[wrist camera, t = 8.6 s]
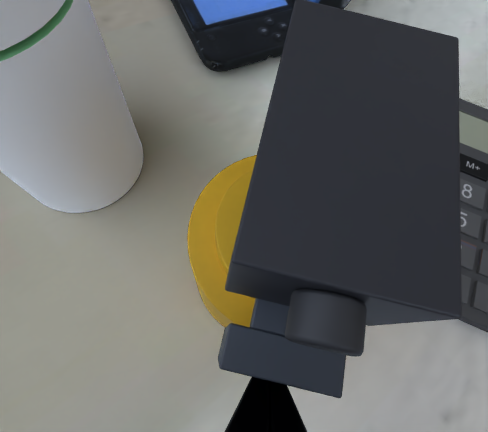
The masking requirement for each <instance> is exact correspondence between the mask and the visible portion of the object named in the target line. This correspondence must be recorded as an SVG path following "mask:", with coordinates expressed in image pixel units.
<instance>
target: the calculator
mask: <svg viewBox="0 0 488 432" xmlns="http://www.w3.org/2000/svg"><path fill="white" fill-rule="evenodd" d="M459 127H460V206H461V284H462V316H461V318H459V320H461V321H464V322H466V323H468V324H471V325H473V326H475V327H477V328H480V329H482V330H484V331H486V332H488V109H485V108H482V107H480V106H477V105H475V104H472V103H470V102H467V101H465V100H462V99H460V98H459Z"/></svg>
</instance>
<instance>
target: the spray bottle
mask: <svg viewBox="0 0 488 432" xmlns="http://www.w3.org/2000/svg"><path fill="white" fill-rule="evenodd" d="M187 239H188V253H189V259H190V264H191V267H192V270H193V273H194V276H195V279H196V283H197V286H198V289H199V292H200V295H201V298H202V300H203V302H204V304H205V306H206V308H207V309H208V311H209V312H210V314H211V315H212V316H213V317H214V318H215V319H216V320H217V321H218V322H219V323H220V324H221V325H222V326H224V327H225V328H226V327H227V326H228V325H229V324H230V323H234V324H238V325H242V326H246V327H250V322H251V317H252V312H253V308H254V303H255V298H258V299H262V300H266V301H270V302H274V303H278V304H282V305H286V306H289V311H288V317H287V323H286V329H285V338H286V339H287V340H289V341H290V342H293V343H297V344H300V345H304V346H308V347H312V348H316V349H320V350H324V351H329V352H333V353H338V354H343V355H348V356H355V357H356V356H361V355H362V353H363V349H364V338H365V327H366V325H367V326H373V325H385V324H398V323H410V322H423V321H436V320H448V319H459V318H461V316H462V284H461V206H460V127H459V48H458V38H457V37H453V36H449V35H445V34H441V33H436V32H432V31H428V30H424V29H420V28H416V27H412V26H408V25H404V24H400V23H396V22H392V21H388V20H384V19H379V18H375V17H371V16H367V15H363V14H359V13H355V12H351V11H347V10H343V9H339V8H335V7H331V6H327V5H322V4H318V3H314V2H310V1H306V0H296V1H295V3H294V8H293V12H292V16H291V20H290V24H289V28H288V32H287V36H286V40H285V44H284V48H283V52H282V56H281V60H280V64H279V68H278V72H277V76H276V80H275V84H274V88H273V92H272V96H271V100H270V104H269V108H268V112H267V116H266V120H265V124H264V128H263V132H262V136H261V140H260V144H259V148H258V152H257V155H254V156H251V157H247V158H244V159H242V160H240V161H237V162H235V163H233V164H232V165H230V166H228V167H227V168H225V169H224V170H222V171H221V172H220V173H218V174H217V175H216V176H215V177H214V178H213V179H212V180H211V181H210V182H209V183H208V184H207V186H206V187H205V188H204V190H203V191H202V192H201V194H200V196H199V198H198V199H197V201H196V203H195V206H194V208H193V211H192V213H191V217H190V222H189V226H188V237H187Z"/></svg>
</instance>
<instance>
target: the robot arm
mask: <svg viewBox="0 0 488 432" xmlns="http://www.w3.org/2000/svg"><path fill="white" fill-rule="evenodd" d="M225 432H307V430H306V428H305V426H304V423H303V421H302V419H301V416H300V414H299V412H298V410H297V407H296V405H295V403H294V401H293V398H292V396H291V394H290V391H289V389H288V387H287V385H284V384H280V383H276V382H272V381H267V380H263V379H259V378H255V377H252V378H251V380H250V382H249V384H248V386H247V388H246V390H245V392H244V394H243V396H242V398H241V400H240V402H239V404H238V406H237V408H236V410H235V412H234V414H233V416H232V418H231V420H230V422H229V424H228V426H227V428H226V430H225Z"/></svg>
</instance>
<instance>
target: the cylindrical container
mask: <svg viewBox="0 0 488 432" xmlns="http://www.w3.org/2000/svg"><path fill="white" fill-rule="evenodd" d="M143 156H144V155H143V147H142V144H141V141H140V138H139V136H138V133H137V130H136V128H135V125H134V122H133V120H132V117H131V114H130V111H129V109H128V106H127V103H126V101H125V98H124V95H123V93H122V90H121V87H120V85H119V82H118V79H117V77H116V74H115V71H114V69H113V66H112V63H111V60H110V58H109V55H108V52H107V50H106V47H105V44H104V42H103V39H102V36H101V34H100V31H99V28H98V26H97V23H96V20H95V17H94V15H93V12H92V9H91V7H90V4H89V1H88V0H0V171H1V172H2V173H3V174H5V175H6V176H7V177H9V178H10V179H11V180H12V181H14V182H15V183H16V184H17V185H19V186H20V187H21V188H23V189H24V190H25V191H26V192H28V193H29V194H30V195H32V196H33V197H34V198H35V199H37V200H38V201H40V202H41V203H42V204H44V205H45V206H48V207H50V208H52V209H55V210H58V211H63V212H68V213H84V212H90V211H95V210H98V209H101V208H104V207H106V206H108V205H110V204H112V203H114V202H116V201H117V200H118V199H120V198H121V197H122V196H124V195H125V194H126V193H127V192H128V191H129V190H130V189H131V187H132V186H133V185H134V183H135V182H136V180H137V178H138V177H139V175H140V172H141V169H142V166H143Z"/></svg>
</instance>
